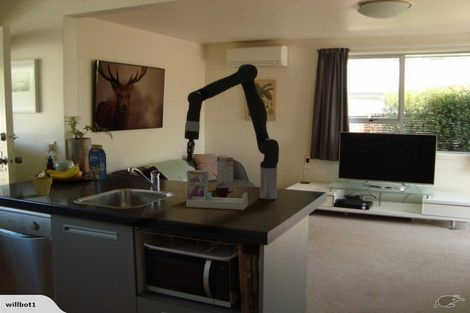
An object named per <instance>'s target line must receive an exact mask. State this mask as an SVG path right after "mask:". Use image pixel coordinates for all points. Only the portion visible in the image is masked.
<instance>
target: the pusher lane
mask: <svg viewBox="0 0 470 313" xmlns="http://www.w3.org/2000/svg"><path fill="white" fill-rule="evenodd" d="M248 201H249V200H248V192H244V193H243V194H242V195H241V198H237V197H236V198H235V197H234V198H233V197H227V198H225V201H222V200H212V201H207V200H206V197H194V196H192V199H190V200H188V199H186V202H185V204H186V206H185V207H187V208H205V209H206V208H207V209H221V210H222V209H223V210H224V209H225V210H240V211H241V210H243V211H244V210H245V209H246V208H247V207H248V205H249V204H248V203H249V202H248Z"/></svg>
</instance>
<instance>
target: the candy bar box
mask: <svg viewBox="0 0 470 313" xmlns="http://www.w3.org/2000/svg"><path fill="white" fill-rule="evenodd" d="M186 174H187V178H186V179H187V200H190V199H192V196H194V197H206V194H208V193H210V192H209V183H210V182H209V171H207V170H198V169H191V170H190V169H189V170H187V171H186Z"/></svg>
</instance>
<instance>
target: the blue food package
mask: <svg viewBox="0 0 470 313" xmlns="http://www.w3.org/2000/svg"><path fill="white" fill-rule="evenodd" d="M90 147H91V148H90V149H89V151H88V153H87V161H88V164H87V166H88V179H89V180H91V181H101V182H102V181H106V180H108V175H107V174H108V173H107V154H106V153H107V152H106V151H105V150H104V149H103V144H95V143H93V144H92V143H91V145H90Z"/></svg>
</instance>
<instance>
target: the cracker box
mask: <svg viewBox="0 0 470 313" xmlns="http://www.w3.org/2000/svg"><path fill="white" fill-rule="evenodd" d="M216 176H217V177H218V181H219V183H220V184H227V185H228V188H229V192H228V193H232V192H234V157H232V156H227V155H217V156H216ZM218 181H217V180H216V186H217V185H218V184H219V183H218Z"/></svg>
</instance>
